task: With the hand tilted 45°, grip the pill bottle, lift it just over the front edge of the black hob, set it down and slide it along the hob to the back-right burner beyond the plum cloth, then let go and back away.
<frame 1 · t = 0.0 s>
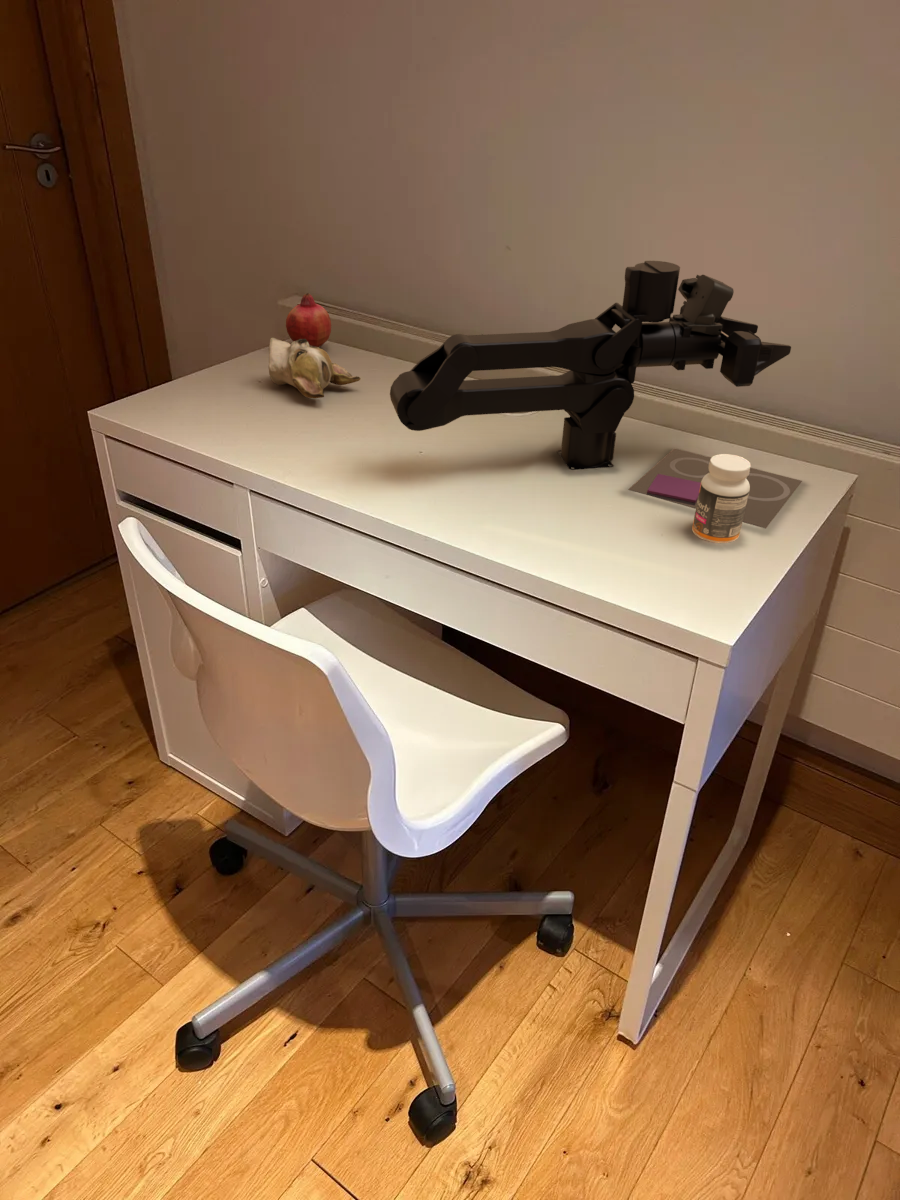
hand: (773, 338, 128), 17 cm above the table, tool horizontal, fingers open, 9 cm apart
pill bottle: (714, 537, 115), on the table
ceramic sculpture: (308, 391, 153), on the table
fruit: (310, 350, 170), on the table
plum cloth: (675, 489, 124), resting on hob
hob: (715, 488, 126), on the table
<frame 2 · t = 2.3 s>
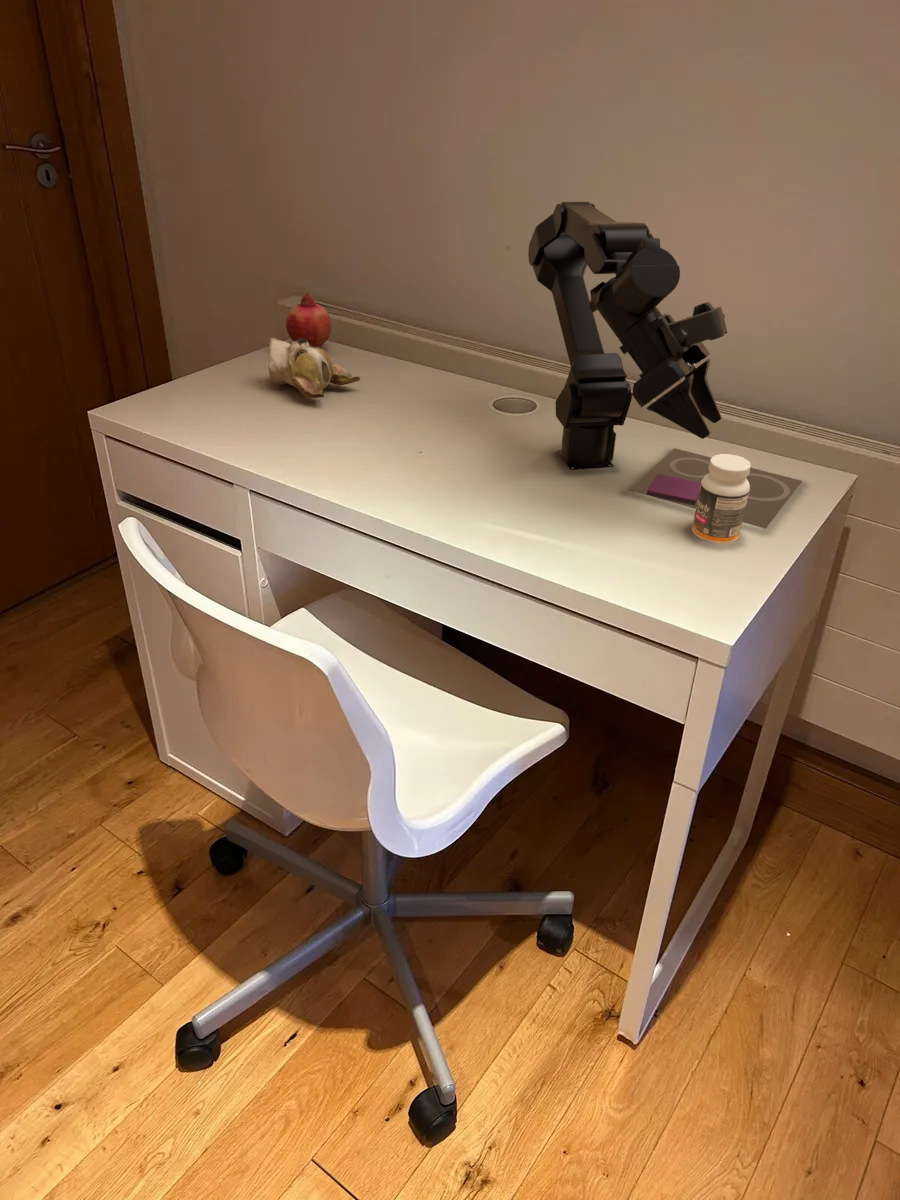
hand: (712, 428, 114), 12 cm above the table, tool tilted 45°, fingers open, 9 cm apart
nothing on the table moved.
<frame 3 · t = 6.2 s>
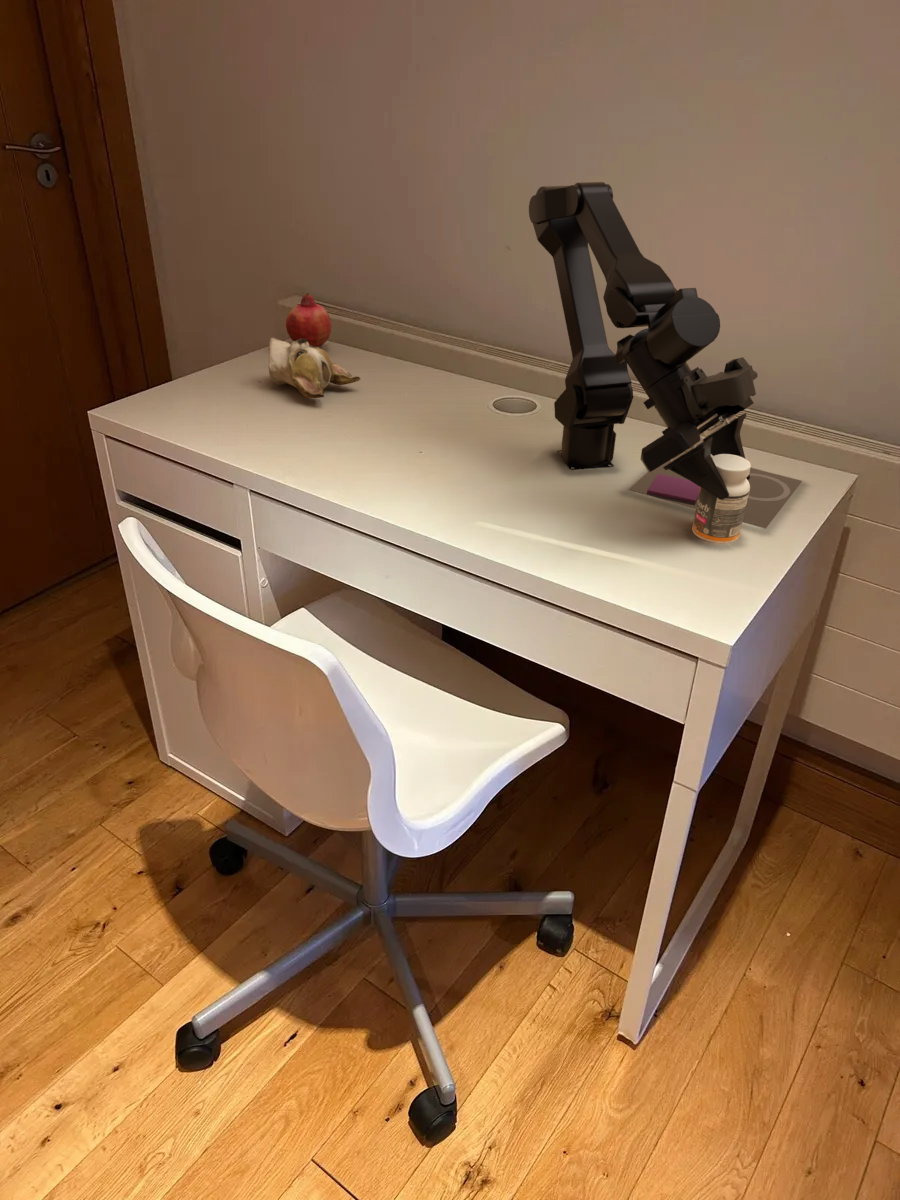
hand: (736, 489, 111), 7 cm above the table, tool tilted 45°, fingers closed on pill bottle, 6 cm apart
pill bottle: (714, 537, 115), on the table, touching gripper
everything else where it was.
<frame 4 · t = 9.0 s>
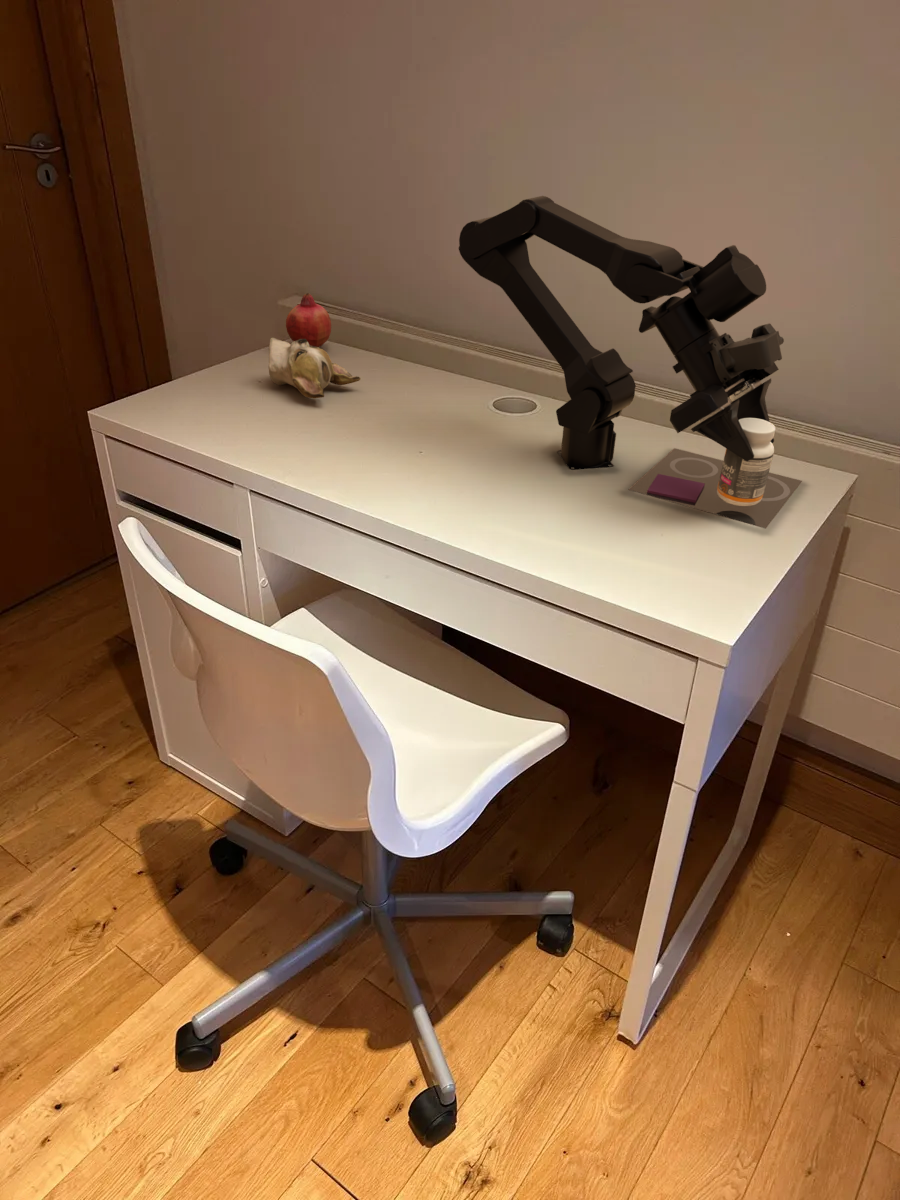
hand: (760, 451, 115), 9 cm above the table, tool tilted 45°, fingers closed on pill bottle, 6 cm apart
pill bottle: (738, 498, 119), point 2 cm above the table, touching gripper
everything else where it was.
when the fingers open (8 cm above the table, at t = 11.9 s): pill bottle stays where it is, resting on hob.
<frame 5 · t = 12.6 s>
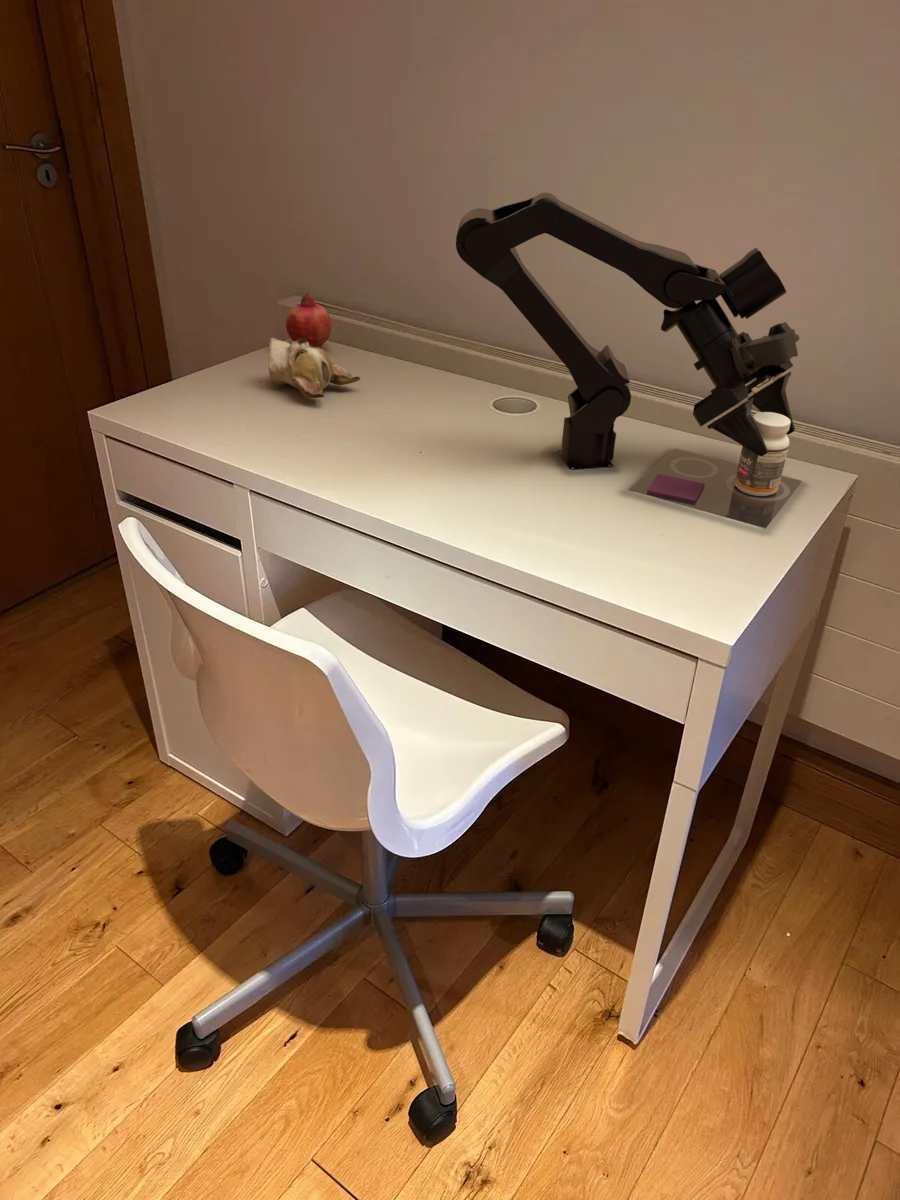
hand: (778, 443, 121), 7 cm above the table, tool tilted 45°, fingers open, 9 cm apart
pill bottle: (755, 489, 125), resting on hob
everything else where it was.
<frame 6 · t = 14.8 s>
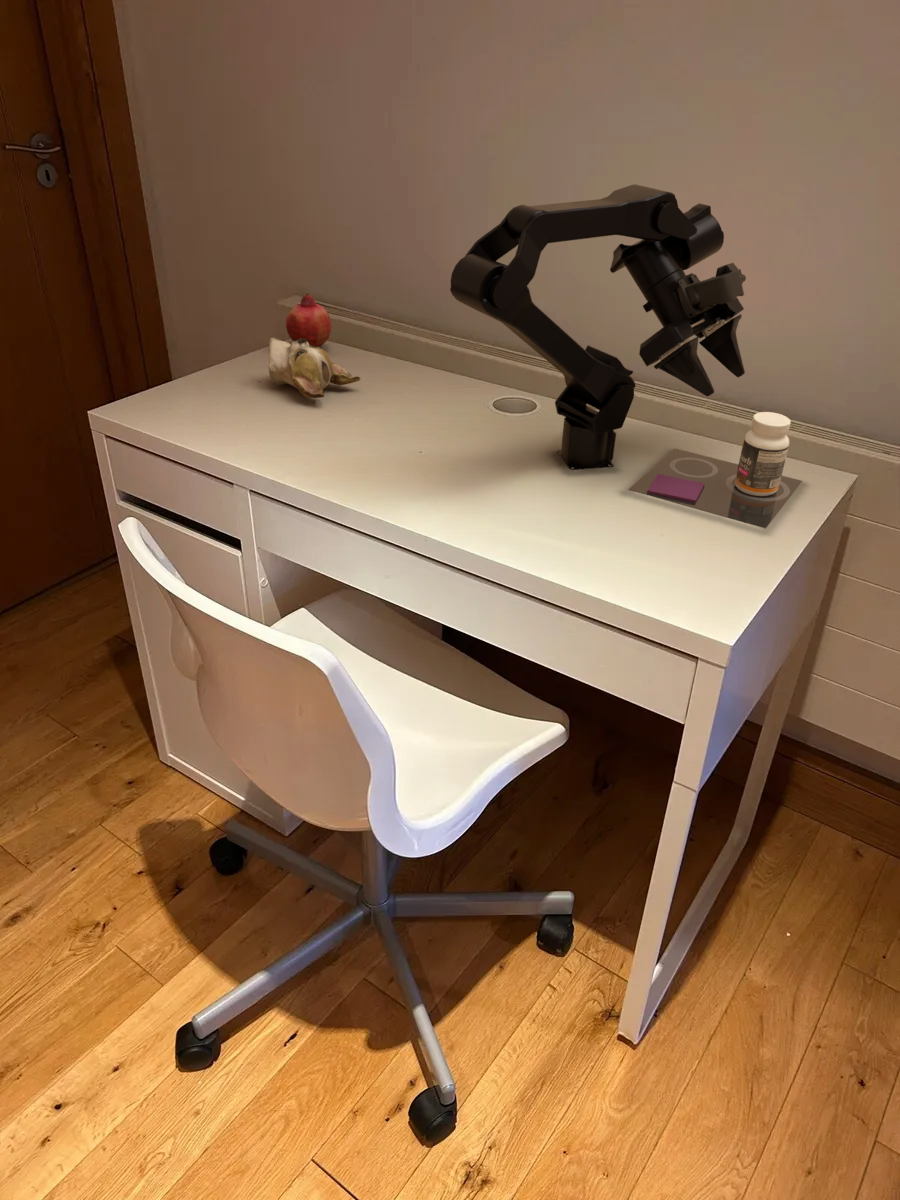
hand: (726, 384, 122), 13 cm above the table, tool tilted 45°, fingers open, 9 cm apart
nothing on the table moved.
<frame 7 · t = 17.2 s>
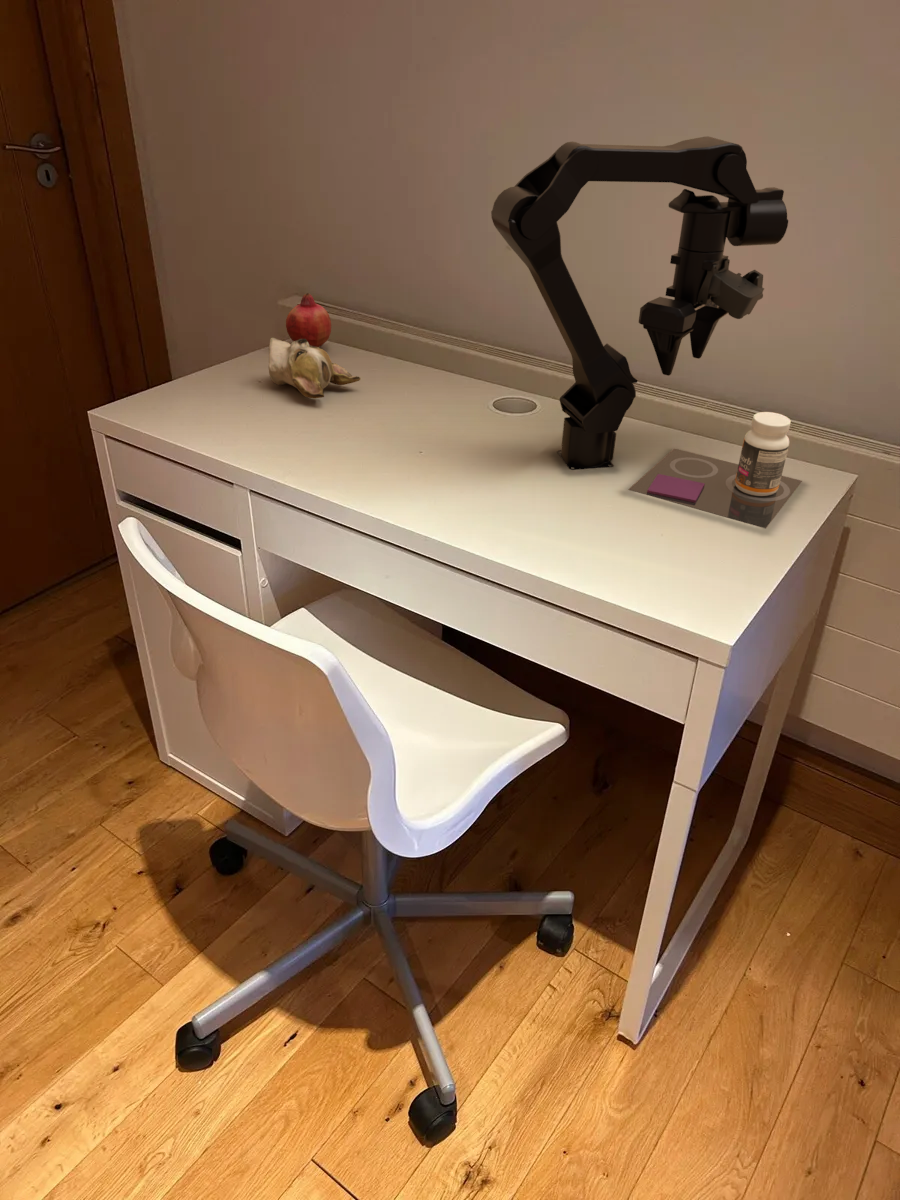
hand: (681, 366, 128), 13 cm above the table, tool pointing down, fingers open, 9 cm apart
nothing on the table moved.
at the end: pill bottle 0.6 cm from the target spot, resting on hob; pill bottle tilted 0°; pill bottle touching hob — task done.
